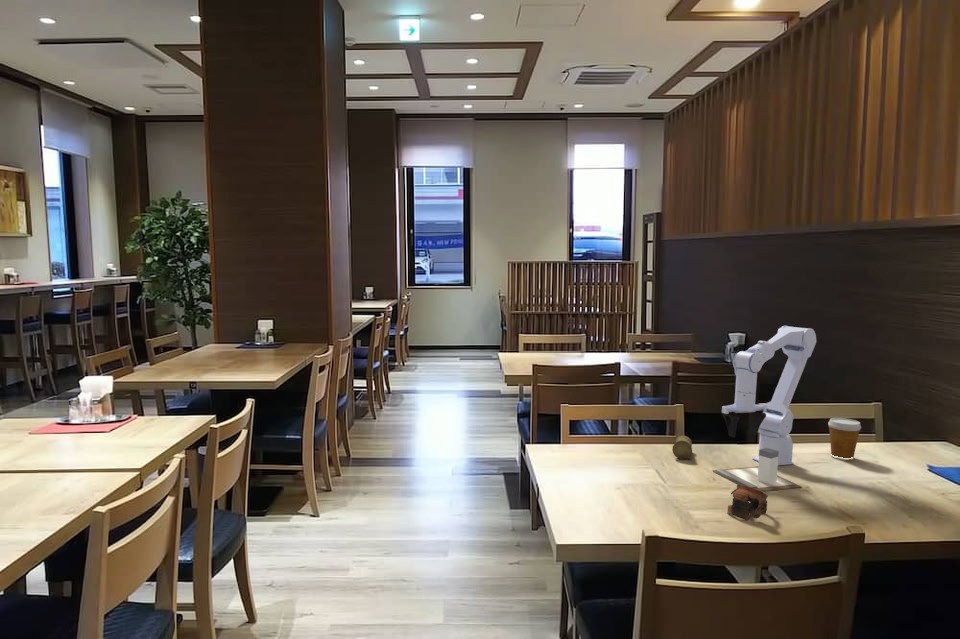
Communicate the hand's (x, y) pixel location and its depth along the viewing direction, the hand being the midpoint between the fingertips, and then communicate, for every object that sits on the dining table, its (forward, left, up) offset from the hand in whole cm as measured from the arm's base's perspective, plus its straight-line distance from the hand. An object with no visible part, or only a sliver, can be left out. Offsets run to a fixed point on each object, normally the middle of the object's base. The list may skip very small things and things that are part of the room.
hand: (742, 435), depth 199 cm
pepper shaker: (+12, -13, -7) cm, 19 cm away
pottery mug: (+22, +31, -11) cm, 40 cm away
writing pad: (+2, +9, -10) cm, 14 cm away
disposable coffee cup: (-41, -3, -11) cm, 43 cm away
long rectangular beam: (+1, +12, -10) cm, 16 cm away
